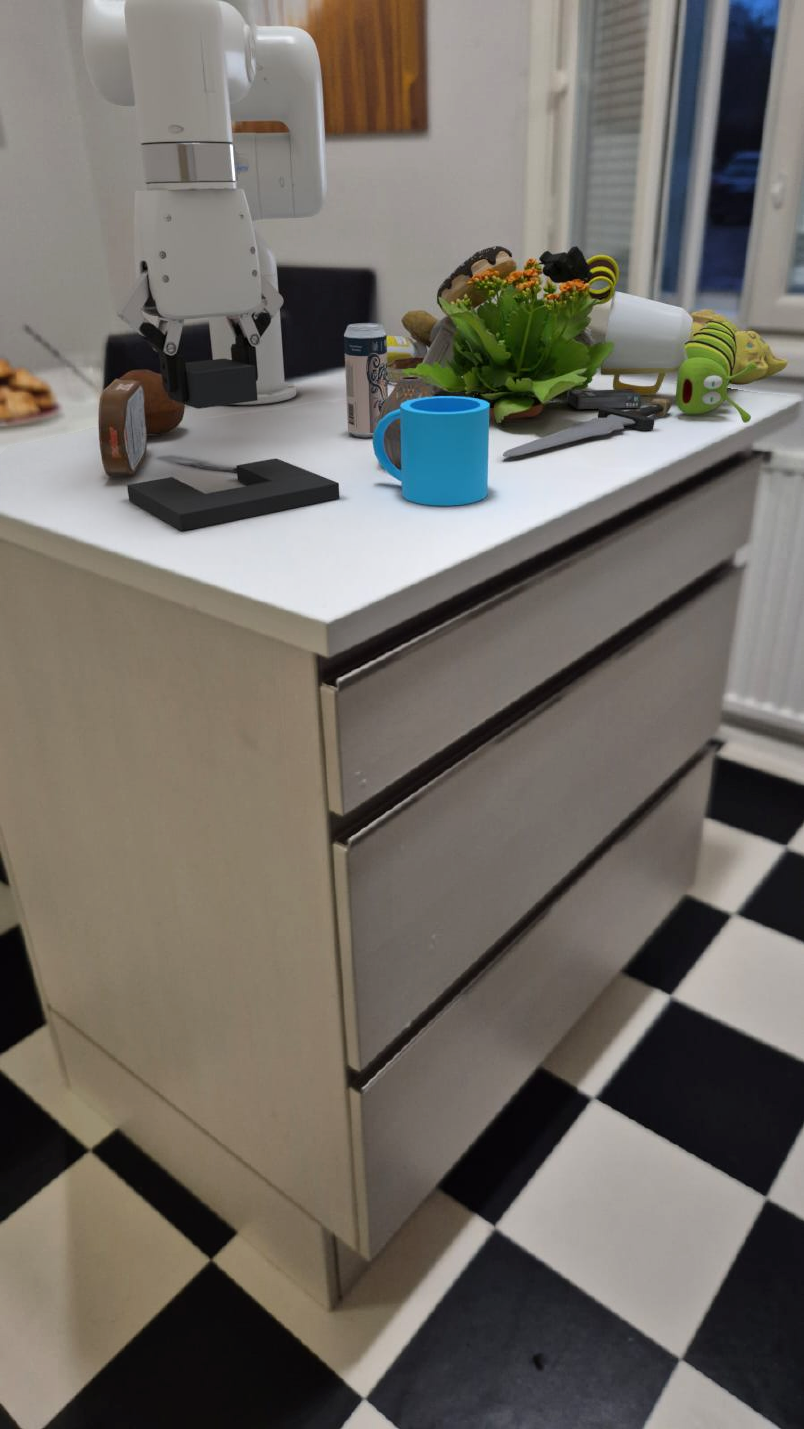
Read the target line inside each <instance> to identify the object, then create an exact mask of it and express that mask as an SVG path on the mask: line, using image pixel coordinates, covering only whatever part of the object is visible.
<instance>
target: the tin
mask: <svg viewBox="0 0 804 1429" xmlns="http://www.w3.org/2000/svg"><path fill="white" fill-rule="evenodd" d="M144 403H145V395H144V389H143V386H142V384H141V383H140V382H138V381H131V380H119V378H115V379H114V380H113V381H112V382H111V383H110V384H109V385H108V386H106V387H105V388H104V389H103V391H102V392H101V394H100V397H99V403H98V420H97V421H98V422H97V423H98V426H97V427H98V440H99V442H98V443H99V450H100V457H101V462H102V463H101V464H102V467H103V470H104V472H105V474H106V475H107V476H108V477H111V476H133V475H134V474H135V473H136V471H137V470H138V469H139V467H140V465H141V464H142V462H143V460H144V459H145V457H146V454H147V448H148V435H147V427H146V423H145V409H144Z"/></svg>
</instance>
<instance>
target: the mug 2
mask: <svg viewBox="0 0 804 1429" xmlns="http://www.w3.org/2000/svg"><path fill="white" fill-rule="evenodd" d="M609 308H610V309H609V314H608V319H607V324H606V331H605V336H604V342H603V344H605V342H607V341H612V342H614V347H613V348H612V349H613V350H612V352H611V353H610V354H609V355H608V357H607V358H606V359H605V360H604V361H603V362H602V363H601V365H600V375H601V376H613V380H612V390H621V389H631V390H633V391H635V392H637V393H639V394H641V396H652V395H655V394H657V393H658V392H659V390H660V389H661V387H662V384H663V381H664V379H665V376H666V374H668V373H672V372H674V371H676V370H679V367H680V366H681V364H682V363H683V348H684V345H685V343H686V342H688V341H690V336H691V331H692V324H693V318H692V317H691V316H690V315H691V314H690V313H688V311H686V309H685V308H683V307H681V306H676V305H672V304H668V303H663V302H660V301H656V300H653V299H648V298H645V297H641V296H637V295H634V294H629V293H625V292H621V291H618V290H617V291H616V290H614V293H613V296H612V298H611V303H610V307H609ZM689 314H690V315H689ZM640 374H641V375H642V374H643V375H644V374H658V375H657V378H656V381H655V383H654V384H653V385H637V384H636V385H635V384H630V383H625V382H621V381H620V376H622V375H640Z"/></svg>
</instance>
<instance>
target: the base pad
mask: <svg viewBox="0 0 804 1429" xmlns="http://www.w3.org/2000/svg"><path fill="white" fill-rule="evenodd" d="M235 468H236V469H237V473H236V479H237V481H239V482H241V483H243V484H245V486H244V485H243V486H238V487H233V488H228V489H222V490H218V491H211V492H207V493H206V492H203V491H201V490H199V489H197V488H196V487H193V486H191V485H190V484H188V483H186V482H183V481H181V480H179V479H177V478H175V477H174V476H168V477H163V478H157V479H151V480H146V481H141V482H135V483H129V484H126V489H127V496H128V501H130V502H131V503H133V504H135V505H136V506H138V507H140V508H142V509H143V510H145V511H147V512H149V513H150V514H152V515H154V516H155V517H157V518H159V519H161V520H163V521H164V522H165V523H168V524H169V525H171V526H173V527H174V528H176V529H178V530H179V531H181V532H186V531H189V530H195V529H200V528H204V527H209V526H214V525H219V524H223V523H229V522H233V521H238V520H243V519H247V518H252V517H257V516H262V515H267V514H271V513H275V512H276V513H277V512H280V511H286V510H290V509H294V508H295V509H296V508H301V507H305V506H310V505H314V504H319V503H324V502H329V501H333V500H338V499H340V484H339V482H337V481H334V480H332V479H329V478H327V477H325V476H322V475H320V474H317V473H314V472H312V471H310V470H308V469H304V468H302V467H300V466H297V465H294V464H291V463H289V462H287V461H285V460H282V459H280V458H277V457H276V458H270V459H265V460H259V461H253V462H248V463H247V462H246V463H242V464H236V465H235Z"/></svg>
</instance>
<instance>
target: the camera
mask: <svg viewBox="0 0 804 1429" xmlns="http://www.w3.org/2000/svg"><path fill="white" fill-rule="evenodd" d="M479 306H480V305H479ZM479 306H478V307H479ZM478 307H476V308H474V309H475V311H476V313H477V308H478ZM469 312H471V311H469ZM437 320H438V322H437V323H436V324H435V326H434V327H433V329H432V331H431V334H430V341H431V342H432V344H431V346H430V348H429V347H428V349H427V351H428V352H427V354H426V356H425V358H424V360H423V362H422V364H428V365H430V366H431V367H433V364H434V362H437V363H438V364H439V365H442V368H443V369H445V367H449V366H448V365H447V364H446V363H445V362H444V361H443V360H442V358H443V357H445V358H446V359H448V360H449V362H451V360H452V361H453V362H454V364H455V365H456V363H455V361H454V358H453V354H454V353H453V349H452V346H453V345H455V343H454V335H455V334H456V329H457V327H456V326H455V325H454V323H453V321H452V319H451V318H450V317H449V316H448V315H446V314H445V316H444V317H443V318H441V319H437ZM440 356H441V357H442V358H441V357H440ZM449 369H450V370H451V371H453V370H452V369H451V368H450V367H449ZM453 372H454V371H453ZM454 373H455V372H454ZM455 374H456V373H455ZM456 376H458V375H457V374H456ZM424 383H425V386H426V387H427V389H428V390H429V392H430V393H431V394H432V396H433V397H436V395H437V394H438V393H439V392H440V391H445V390H444V389H441V388H439V387H437V386H435V385H432V384H430V383H427V382H424Z"/></svg>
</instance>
